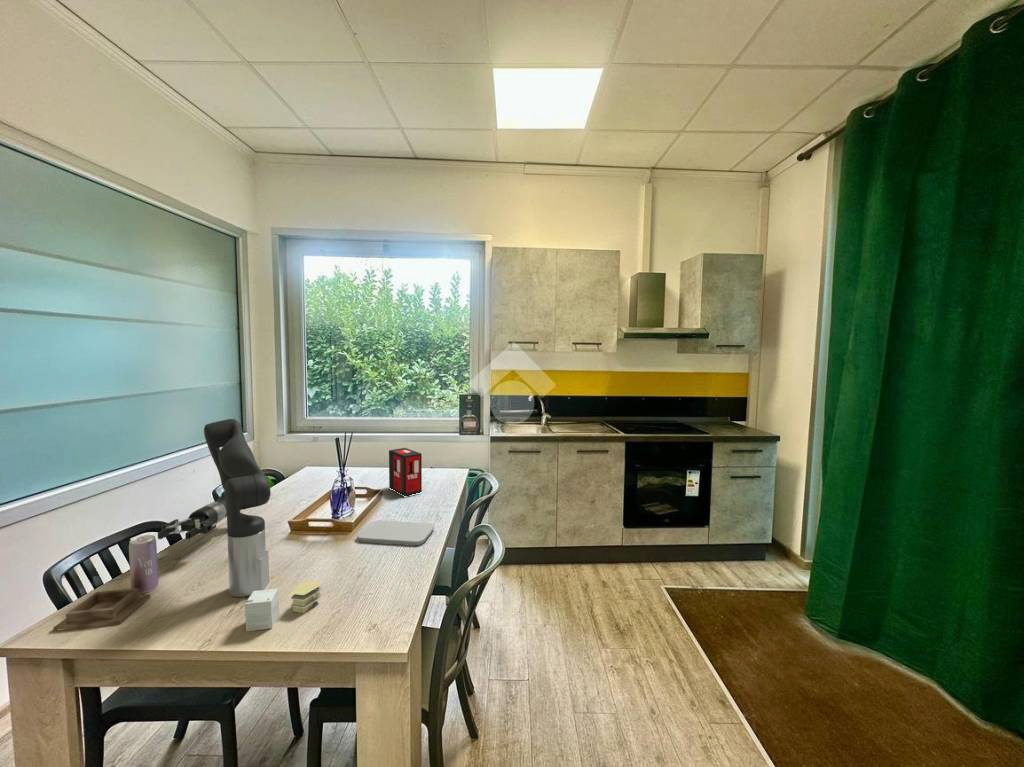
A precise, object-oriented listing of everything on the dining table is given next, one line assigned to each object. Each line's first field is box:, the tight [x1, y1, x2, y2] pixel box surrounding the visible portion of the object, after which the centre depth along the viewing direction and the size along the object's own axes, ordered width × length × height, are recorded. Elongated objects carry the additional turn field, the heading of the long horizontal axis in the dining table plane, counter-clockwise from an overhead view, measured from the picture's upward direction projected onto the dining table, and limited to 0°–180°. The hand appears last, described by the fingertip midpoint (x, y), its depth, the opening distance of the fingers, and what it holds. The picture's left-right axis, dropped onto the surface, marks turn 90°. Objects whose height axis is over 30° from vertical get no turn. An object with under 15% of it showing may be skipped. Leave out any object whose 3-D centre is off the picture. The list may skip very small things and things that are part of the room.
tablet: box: [356, 519, 435, 546], centre depth 161 cm, size 16×26×2 cm, turn 83°
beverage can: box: [128, 534, 159, 595], centre depth 122 cm, size 6×6×15 cm
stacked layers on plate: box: [290, 580, 323, 614], centre depth 116 cm, size 10×9×6 cm
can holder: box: [53, 588, 151, 631], centre depth 111 cm, size 14×12×4 cm
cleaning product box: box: [388, 447, 423, 497], centre depth 212 cm, size 16×9×20 cm, turn 43°
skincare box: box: [244, 588, 280, 632], centre depth 108 cm, size 6×6×7 cm
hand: (172, 536), depth 133 cm, fingers open, 8 cm apart
